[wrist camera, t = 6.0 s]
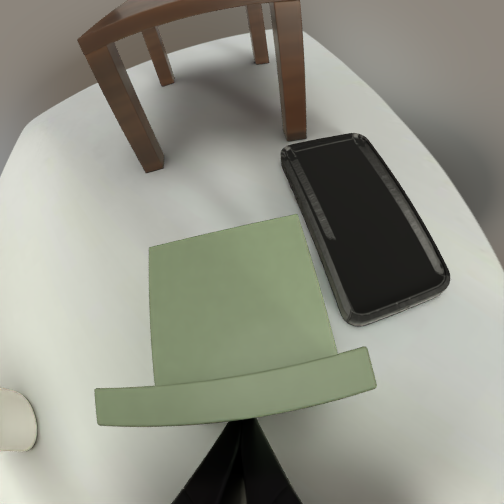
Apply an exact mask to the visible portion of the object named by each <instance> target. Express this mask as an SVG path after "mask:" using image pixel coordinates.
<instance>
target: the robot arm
mask: <svg viewBox="0 0 504 504" xmlns="http://www.w3.org/2000/svg"><path fill="white" fill-rule="evenodd" d="M171 504H303V503H302V502H301V500H300V499H299V497H298V495H297V494H296V492H295V491H294V489H293V487H292V485H291V484H290V482H289V480H288V478H287V476H286V475H285V473H284V471H283V469H282V467H281V465H280V464H279V462H278V460H277V458H276V456H275V454H274V452H273V450H272V448H271V446H270V445H269V443H268V441H267V439H266V437H265V435H264V433H263V431H262V429H261V427H260V425H259V423H258V421H257V419H256V418H250V419H243V420H236V421H229V422H228V424H227V425H226V427H225V428H224V430H223V431H222V433H221V434H220V436H219V437H218V439H217V440H216V442H215V443H214V445H213V446H212V448H211V449H210V451H209V452H208V454H207V455H206V457H205V458H204V460H203V461H202V463H201V464H200V465H199V467H198V468H197V470H196V471H195V472H194V474H193V475H192V477H191V478H190V479H189V481H188V482H187V484H186V485H185V486H184V489H182V490H181V492H180V493H179V494H178V496H177V497H176V498H175V499H174V501H173V502H172V503H171Z"/></svg>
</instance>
